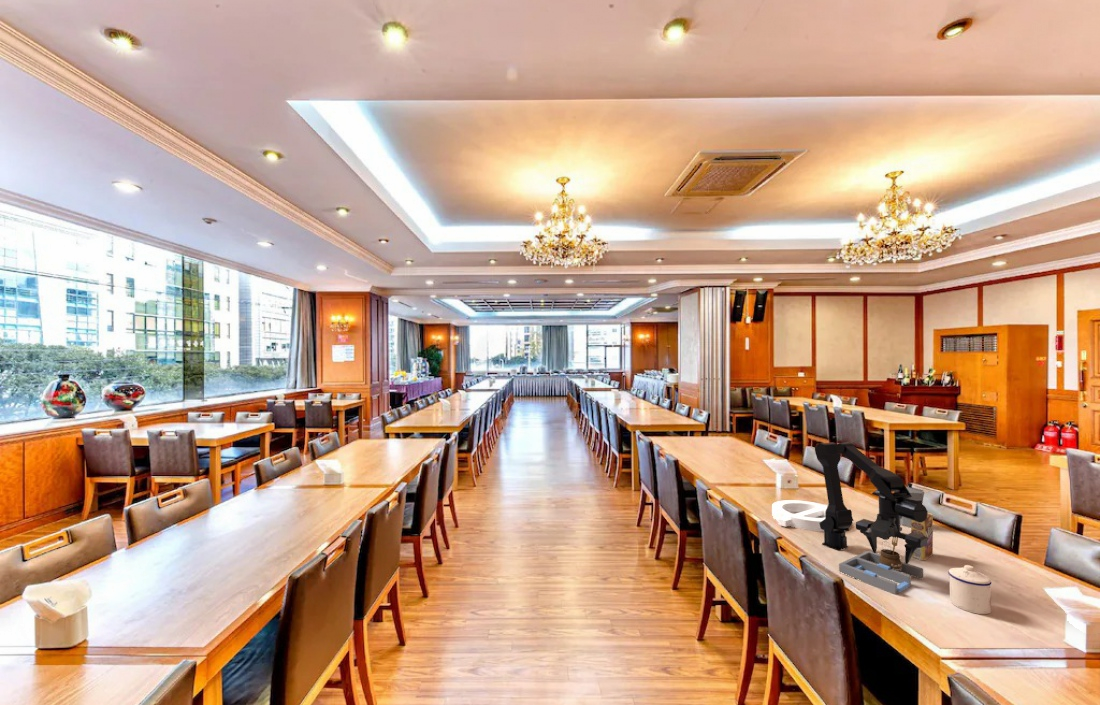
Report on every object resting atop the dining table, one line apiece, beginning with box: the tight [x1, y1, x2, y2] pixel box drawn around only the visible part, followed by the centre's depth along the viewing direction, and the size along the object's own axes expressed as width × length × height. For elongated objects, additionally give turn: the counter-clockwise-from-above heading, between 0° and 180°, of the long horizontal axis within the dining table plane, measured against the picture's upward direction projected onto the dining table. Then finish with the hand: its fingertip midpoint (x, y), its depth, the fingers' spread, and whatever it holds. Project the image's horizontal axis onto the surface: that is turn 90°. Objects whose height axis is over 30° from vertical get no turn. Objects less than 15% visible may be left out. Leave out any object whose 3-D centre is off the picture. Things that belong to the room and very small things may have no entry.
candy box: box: [910, 512, 934, 561], centre depth 160 cm, size 9×4×15 cm, turn 123°
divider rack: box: [838, 550, 924, 595], centre depth 146 cm, size 16×20×4 cm
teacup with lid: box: [947, 564, 992, 615], centre depth 129 cm, size 12×9×12 cm
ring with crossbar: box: [771, 499, 828, 533], centre depth 197 cm, size 28×28×5 cm
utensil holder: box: [879, 537, 903, 573], centre depth 147 cm, size 6×6×12 cm
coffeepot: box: [893, 482, 925, 528], centre depth 190 cm, size 15×9×18 cm, turn 103°
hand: (890, 558), depth 147 cm, fingers open, 9 cm apart
